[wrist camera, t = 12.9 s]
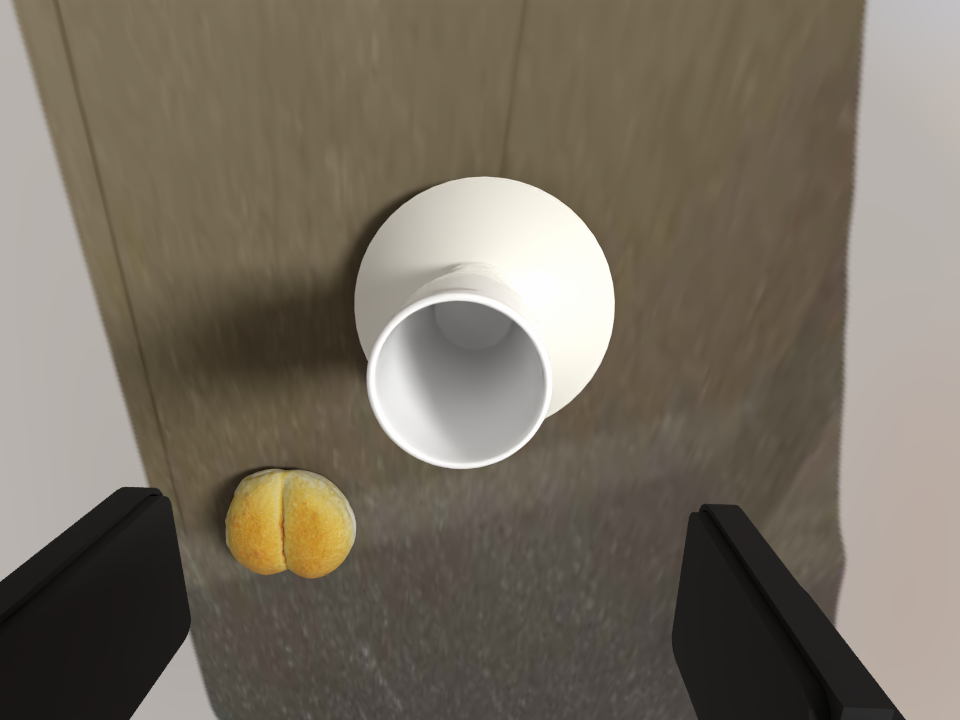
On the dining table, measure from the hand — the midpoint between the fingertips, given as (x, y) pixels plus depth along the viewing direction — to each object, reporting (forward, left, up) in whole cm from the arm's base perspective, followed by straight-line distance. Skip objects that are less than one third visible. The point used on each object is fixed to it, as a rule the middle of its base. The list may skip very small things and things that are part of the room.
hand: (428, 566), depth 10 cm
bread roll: (+17, -13, -27) cm, 34 cm away
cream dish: (+1, 0, -26) cm, 26 cm away
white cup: (0, 0, -25) cm, 25 cm away
